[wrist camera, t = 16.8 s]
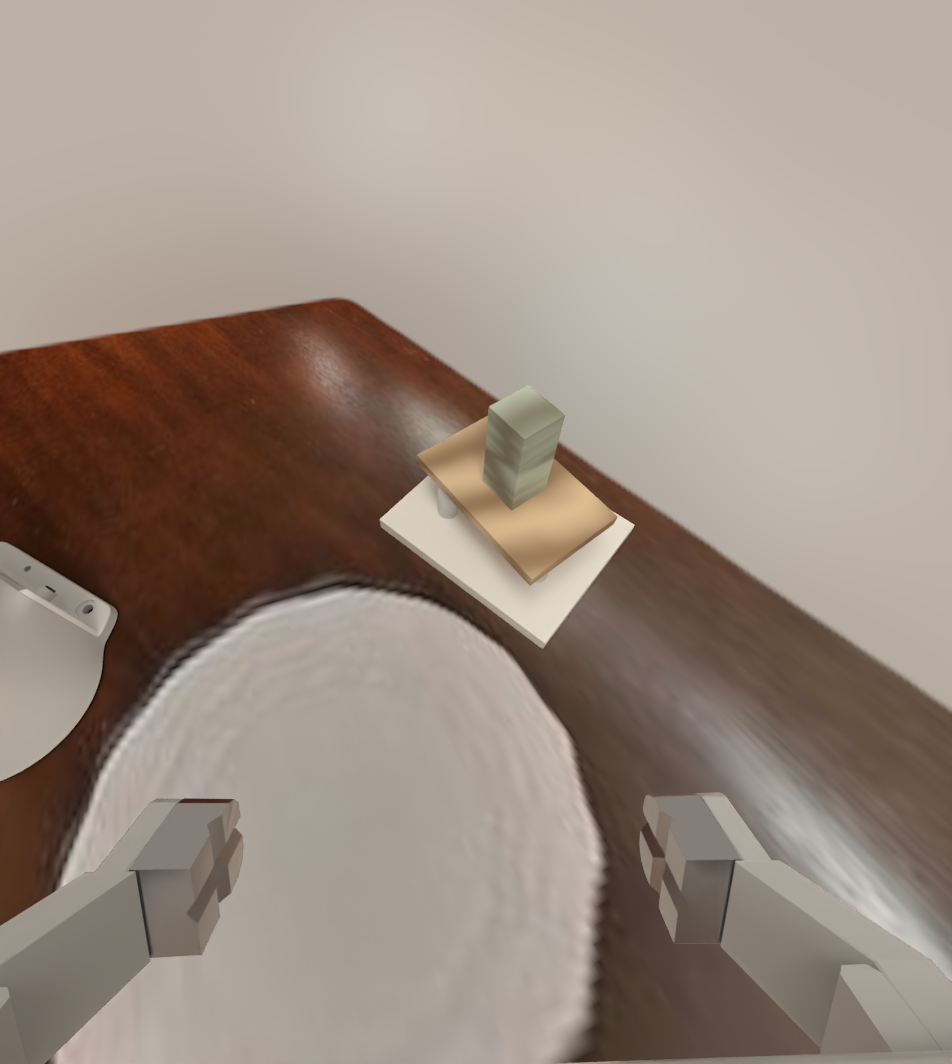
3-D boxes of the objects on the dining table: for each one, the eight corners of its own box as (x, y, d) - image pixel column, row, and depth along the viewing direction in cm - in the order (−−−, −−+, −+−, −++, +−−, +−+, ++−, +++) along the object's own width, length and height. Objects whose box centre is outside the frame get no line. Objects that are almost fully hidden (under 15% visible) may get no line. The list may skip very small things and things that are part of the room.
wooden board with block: (417, 463, 47) (409, 377, 38) (498, 417, 50) (508, 330, 42) (529, 585, 40) (551, 516, 32) (613, 524, 44) (653, 446, 35)
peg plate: (381, 527, 50) (372, 489, 45) (479, 438, 57) (482, 395, 52) (542, 649, 44) (555, 622, 39) (630, 533, 51) (651, 496, 46)
